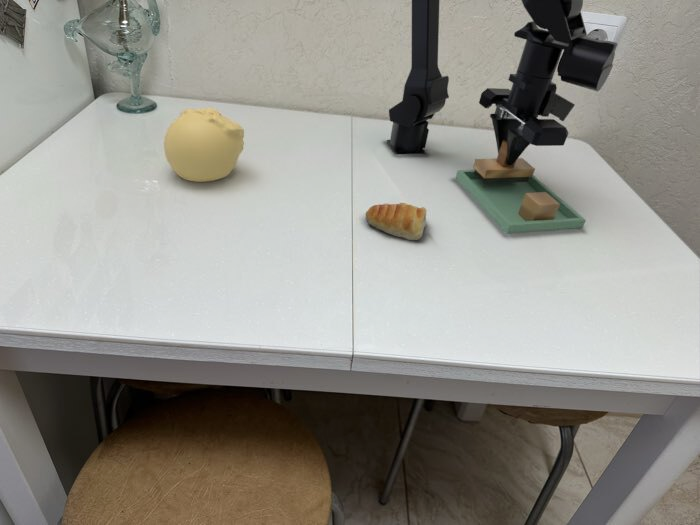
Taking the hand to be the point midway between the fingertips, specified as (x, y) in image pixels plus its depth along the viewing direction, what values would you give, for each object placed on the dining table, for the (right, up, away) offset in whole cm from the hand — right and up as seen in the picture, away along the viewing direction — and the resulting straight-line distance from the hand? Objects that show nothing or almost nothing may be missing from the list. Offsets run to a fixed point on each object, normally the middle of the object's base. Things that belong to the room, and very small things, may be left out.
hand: (505, 161), depth 88 cm
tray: (+1, -8, -1) cm, 8 cm away
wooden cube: (+3, -11, -6) cm, 13 cm away
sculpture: (-53, -3, -5) cm, 53 cm away
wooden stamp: (0, -3, +2) cm, 3 cm away
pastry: (-20, -13, -12) cm, 27 cm away
